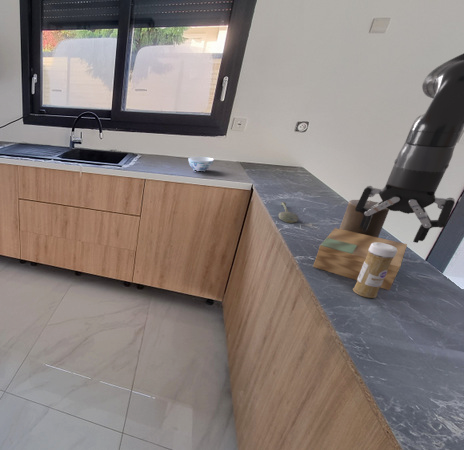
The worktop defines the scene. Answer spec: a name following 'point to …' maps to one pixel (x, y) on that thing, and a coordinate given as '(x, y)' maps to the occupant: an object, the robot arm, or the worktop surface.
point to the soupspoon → (288, 215)
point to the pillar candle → (354, 218)
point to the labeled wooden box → (354, 255)
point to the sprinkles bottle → (374, 269)
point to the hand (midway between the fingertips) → (388, 235)
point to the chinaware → (200, 163)
